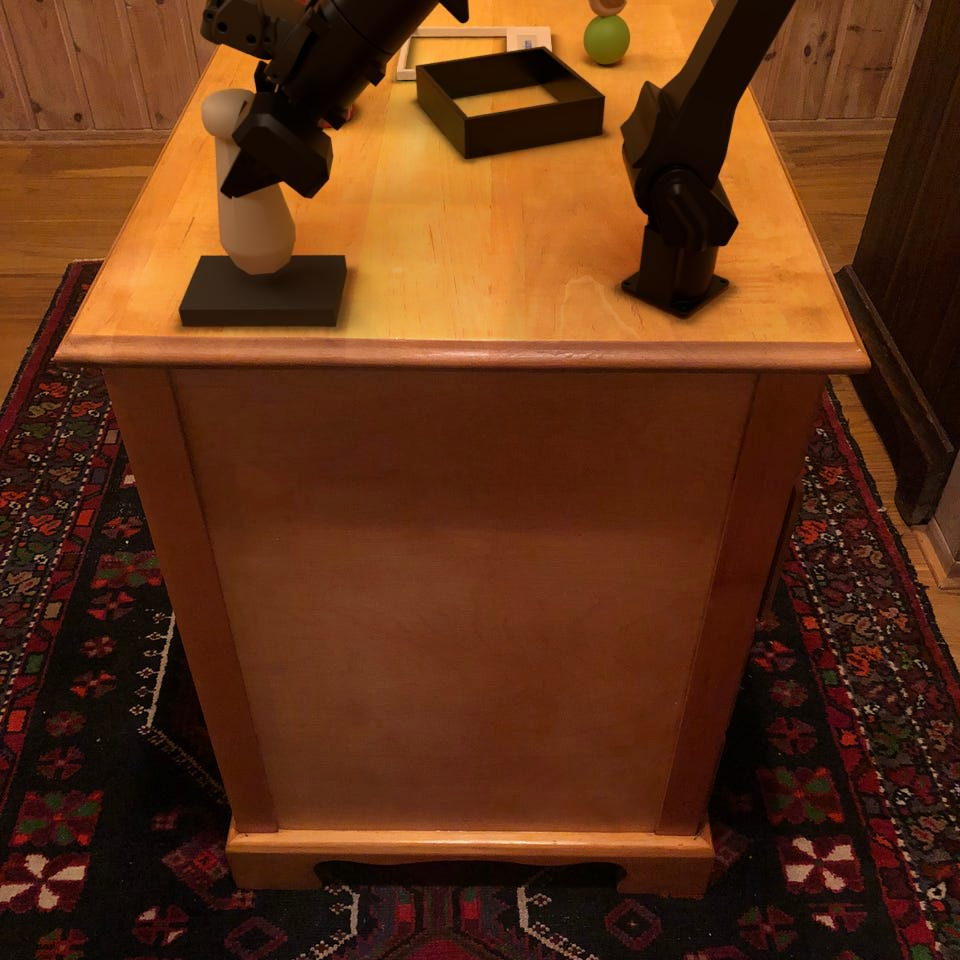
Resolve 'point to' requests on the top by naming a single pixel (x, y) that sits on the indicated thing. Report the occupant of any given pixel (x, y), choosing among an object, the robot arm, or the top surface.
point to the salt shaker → (246, 197)
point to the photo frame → (515, 35)
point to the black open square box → (518, 126)
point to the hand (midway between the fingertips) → (229, 183)
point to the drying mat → (265, 293)
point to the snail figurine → (606, 32)
